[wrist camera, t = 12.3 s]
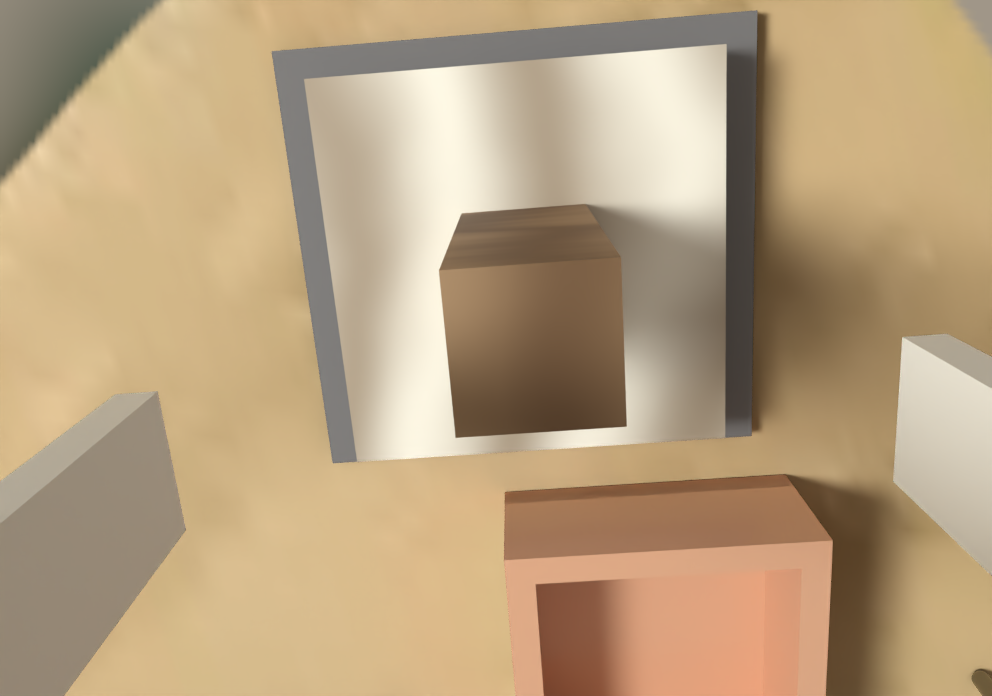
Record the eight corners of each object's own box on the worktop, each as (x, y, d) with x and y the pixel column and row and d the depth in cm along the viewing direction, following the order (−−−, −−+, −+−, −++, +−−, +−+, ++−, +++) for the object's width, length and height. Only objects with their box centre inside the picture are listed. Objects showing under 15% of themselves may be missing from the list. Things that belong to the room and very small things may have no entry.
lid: (367, 437, 32) (294, 613, 21) (319, 80, 28) (200, 72, 17) (710, 414, 31) (815, 583, 20) (710, 47, 27) (838, 18, 17)
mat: (335, 456, 33) (332, 463, 32) (276, 52, 28) (271, 51, 28) (747, 429, 32) (751, 435, 31) (752, 12, 28) (757, 10, 27)
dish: (523, 720, 36) (525, 816, 31) (504, 492, 33) (503, 560, 28) (778, 706, 36) (820, 801, 31) (785, 474, 32) (832, 540, 28)
